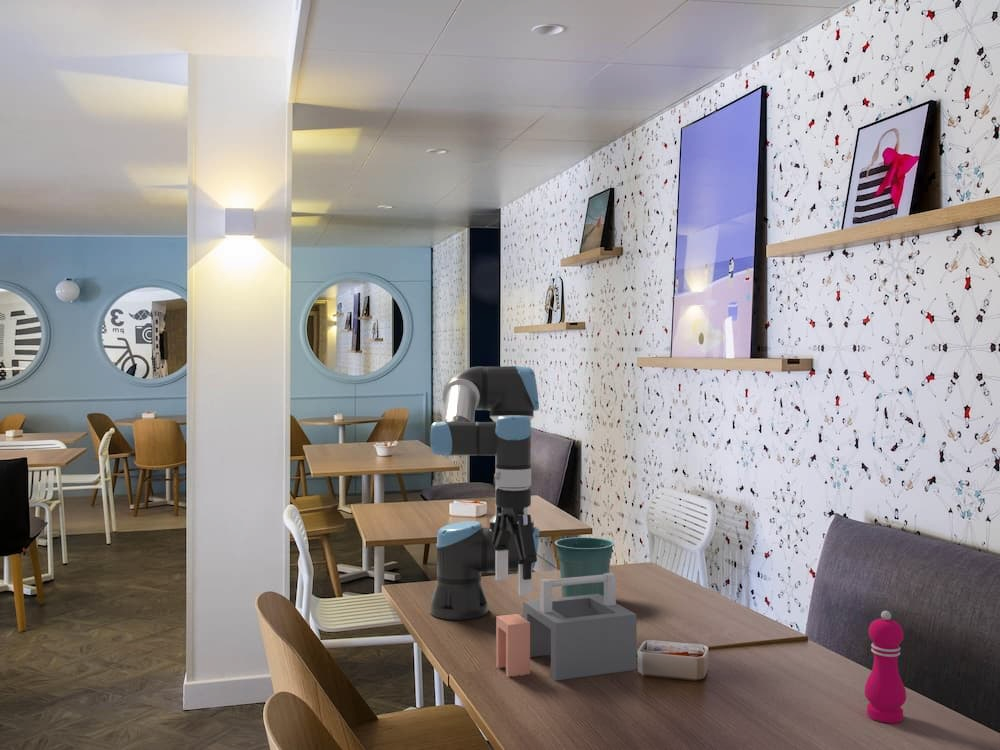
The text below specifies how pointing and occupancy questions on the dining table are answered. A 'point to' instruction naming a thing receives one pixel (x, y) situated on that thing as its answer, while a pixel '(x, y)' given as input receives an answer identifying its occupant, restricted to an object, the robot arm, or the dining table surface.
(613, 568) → the dining table surface
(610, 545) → the flower pot
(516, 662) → the coral u-channel block
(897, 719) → the pepper mill
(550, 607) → the gray square frame
